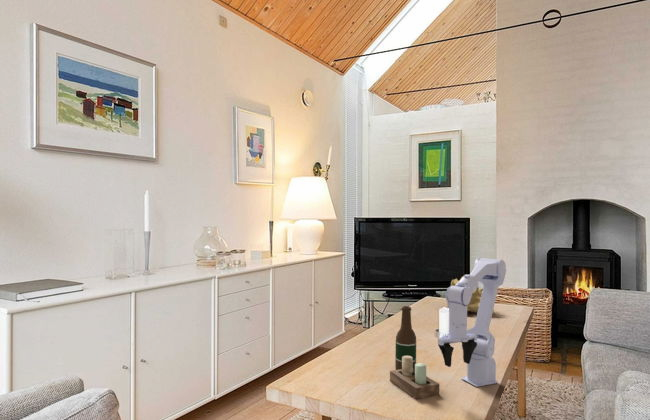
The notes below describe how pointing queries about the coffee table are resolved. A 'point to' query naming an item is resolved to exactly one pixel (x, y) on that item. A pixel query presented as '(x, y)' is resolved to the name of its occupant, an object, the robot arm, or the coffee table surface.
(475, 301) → the decorative coral
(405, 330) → the beer bottle
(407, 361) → the birch peg
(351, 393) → the coffee table surface
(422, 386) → the socket board
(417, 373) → the green peg
